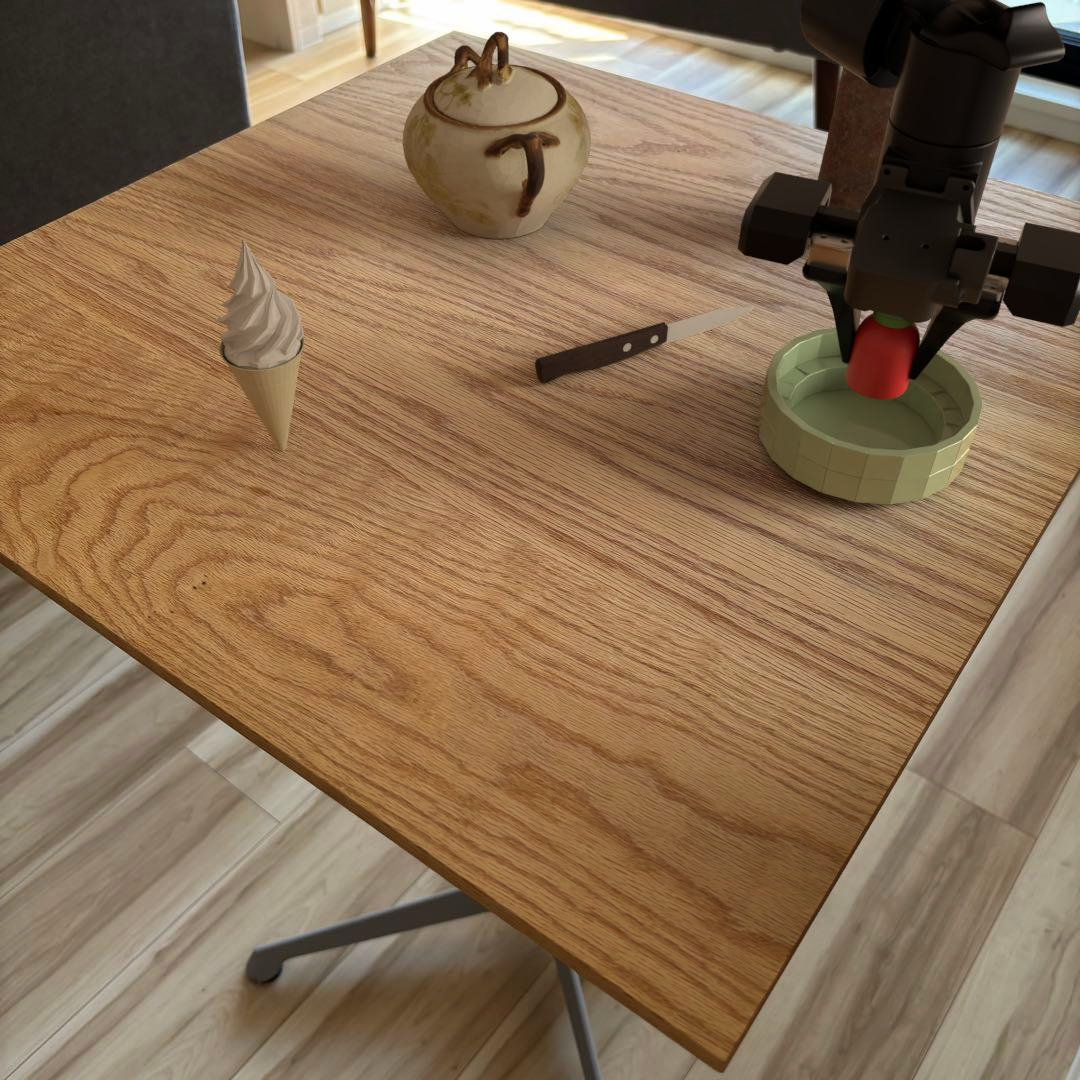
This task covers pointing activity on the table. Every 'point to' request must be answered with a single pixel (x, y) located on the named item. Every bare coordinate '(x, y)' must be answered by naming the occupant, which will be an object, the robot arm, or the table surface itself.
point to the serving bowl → (866, 425)
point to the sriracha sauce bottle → (882, 356)
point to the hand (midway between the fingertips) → (879, 367)
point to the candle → (855, 140)
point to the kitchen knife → (631, 343)
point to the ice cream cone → (263, 344)
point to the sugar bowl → (496, 143)
